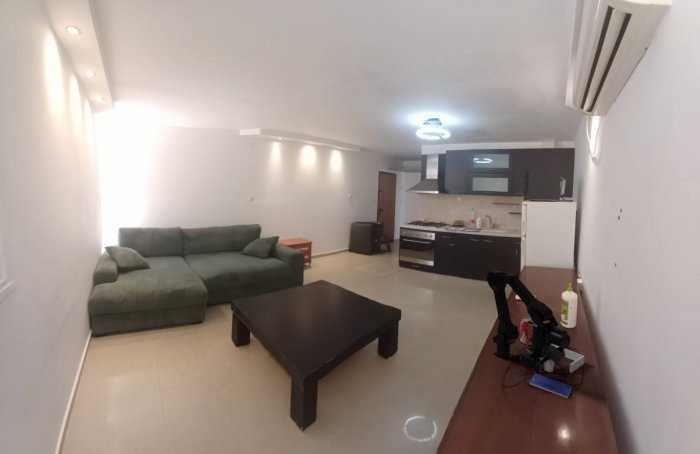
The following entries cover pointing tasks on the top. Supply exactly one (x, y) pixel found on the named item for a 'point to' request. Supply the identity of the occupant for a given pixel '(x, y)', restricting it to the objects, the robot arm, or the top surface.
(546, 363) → the milkshake
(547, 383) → the hard drive
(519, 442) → the top surface
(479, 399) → the top surface
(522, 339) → the soda can
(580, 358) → the box
